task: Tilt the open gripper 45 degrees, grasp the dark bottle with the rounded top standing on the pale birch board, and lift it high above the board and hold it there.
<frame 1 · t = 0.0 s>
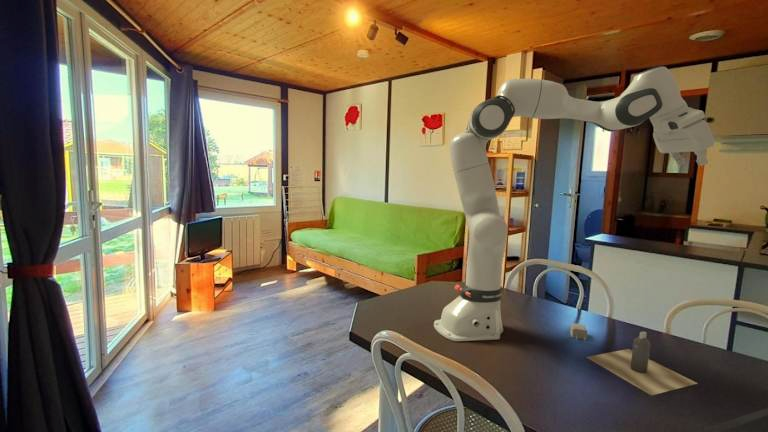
hand: (692, 164, 107), 54 cm above the table, tool tilted 30°, fingers open, 8 cm apart
dark bottle: (638, 369, 97), point 1 cm above the table, touching birch board
birch board: (638, 373, 97), on the table
usb wall charger: (578, 341, 115), on the table
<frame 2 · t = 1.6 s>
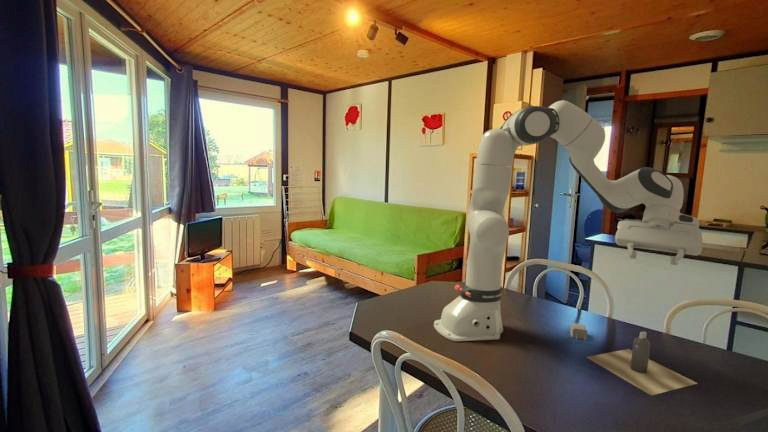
hand: (652, 260, 104), 27 cm above the table, tool tilted 45°, fingers open, 8 cm apart
nothing on the table moved.
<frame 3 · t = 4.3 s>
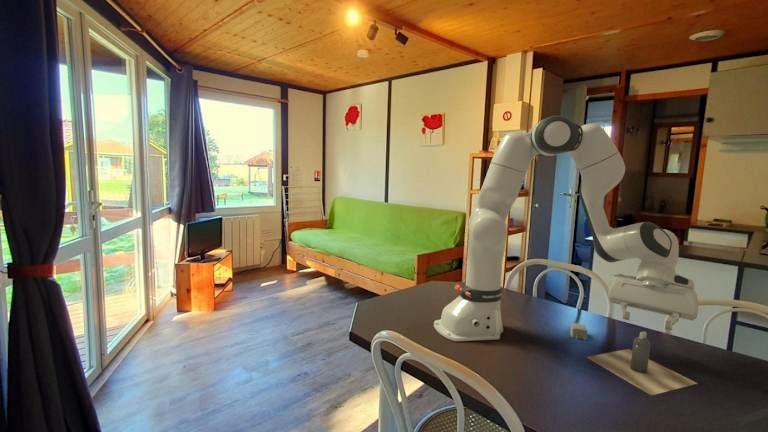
hand: (646, 323, 100), 12 cm above the table, tool tilted 45°, fingers open, 8 cm apart
nothing on the table moved.
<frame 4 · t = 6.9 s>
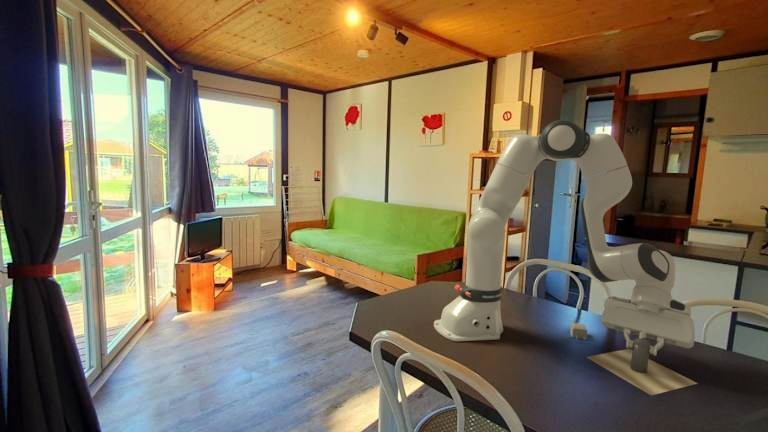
hand: (640, 350, 96), 6 cm above the table, tool tilted 45°, fingers closed on dark bottle, 4 cm apart
dark bottle: (638, 369, 97), point 1 cm above the table, touching birch board, gripper
everything else where it was.
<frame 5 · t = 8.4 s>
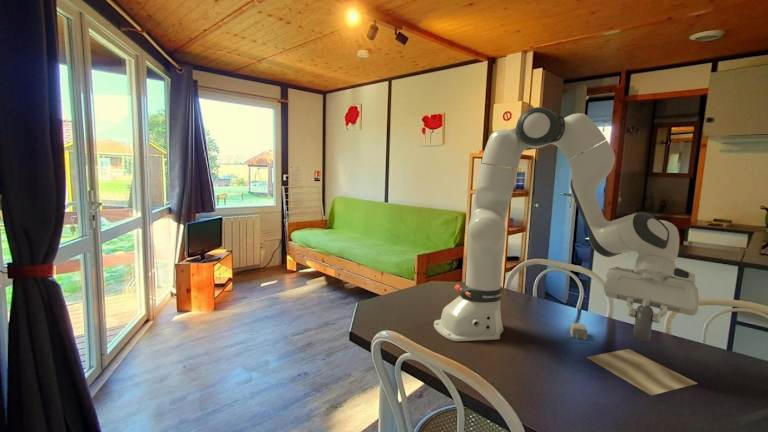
hand: (643, 318, 95), 15 cm above the table, tool tilted 45°, fingers closed on dark bottle, 4 cm apart
dark bottle: (641, 337, 96), point 10 cm above the table, touching gripper
everything else where it was.
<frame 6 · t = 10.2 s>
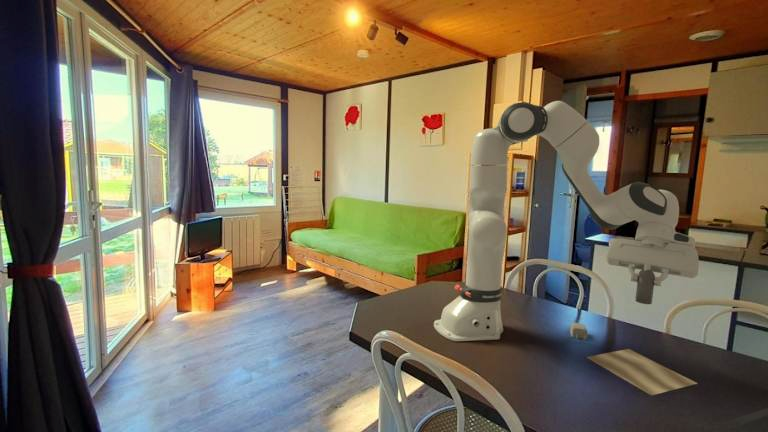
hand: (645, 282, 97), 23 cm above the table, tool tilted 45°, fingers closed on dark bottle, 4 cm apart
dark bottle: (643, 301, 99), point 18 cm above the table, touching gripper
everything else where it was.
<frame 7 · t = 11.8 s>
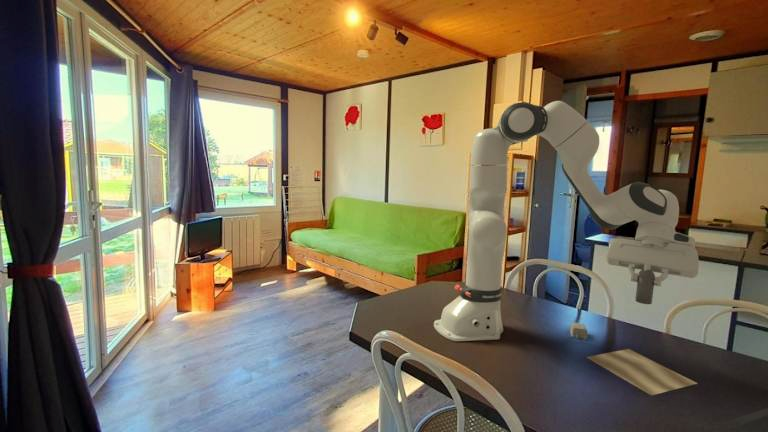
hand: (645, 282, 97), 23 cm above the table, tool tilted 45°, fingers closed on dark bottle, 4 cm apart
dark bottle: (643, 301, 99), point 18 cm above the table, touching gripper
everything else where it was.
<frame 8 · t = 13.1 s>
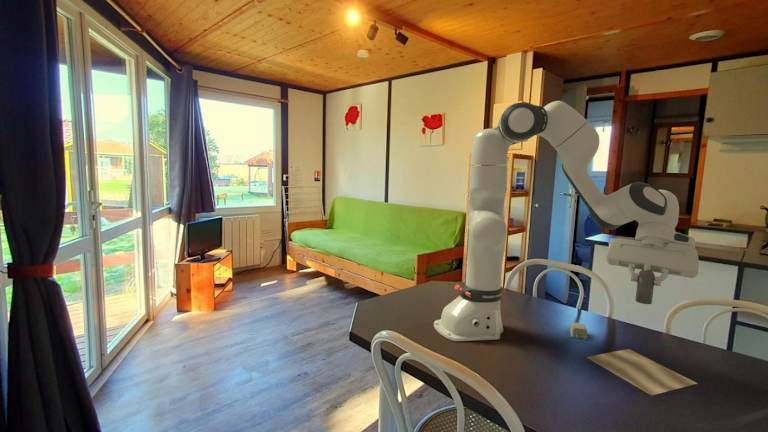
hand: (645, 282, 97), 23 cm above the table, tool tilted 45°, fingers closed on dark bottle, 4 cm apart
dark bottle: (643, 301, 99), point 18 cm above the table, touching gripper
everything else where it was.
at the end: the gripper is holding dark bottle; dark bottle point 18.0 cm above the table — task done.
